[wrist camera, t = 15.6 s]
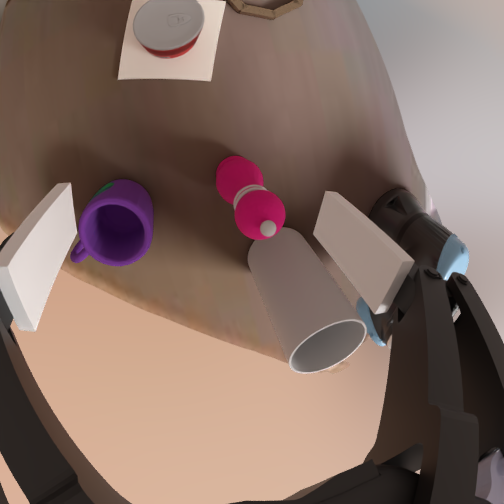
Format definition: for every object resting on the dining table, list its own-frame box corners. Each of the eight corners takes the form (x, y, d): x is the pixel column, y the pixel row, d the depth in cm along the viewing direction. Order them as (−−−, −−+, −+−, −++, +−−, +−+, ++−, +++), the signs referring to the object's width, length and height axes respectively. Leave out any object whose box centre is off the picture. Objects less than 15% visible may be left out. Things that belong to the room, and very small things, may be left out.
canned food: (205, 46, 31) (214, 33, 22) (154, 68, 31) (146, 62, 22) (187, 7, 26) (191, -17, 18) (136, 28, 27) (122, 10, 18)
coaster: (224, 3, 28) (226, 1, 27) (210, 81, 35) (210, 81, 35) (133, -1, 24) (132, -2, 23) (119, 79, 31) (117, 79, 30)
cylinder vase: (310, 225, 55) (379, 312, 35) (297, 274, 62) (348, 363, 42) (250, 225, 52) (301, 327, 32) (243, 278, 59) (280, 379, 39)
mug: (130, 160, 39) (119, 181, 31) (168, 212, 46) (168, 242, 38) (60, 218, 40) (41, 248, 33) (98, 260, 47) (88, 295, 39)
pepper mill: (210, 155, 42) (234, 207, 27) (254, 150, 44) (303, 196, 28) (215, 196, 47) (240, 266, 31) (256, 189, 48) (300, 253, 32)
